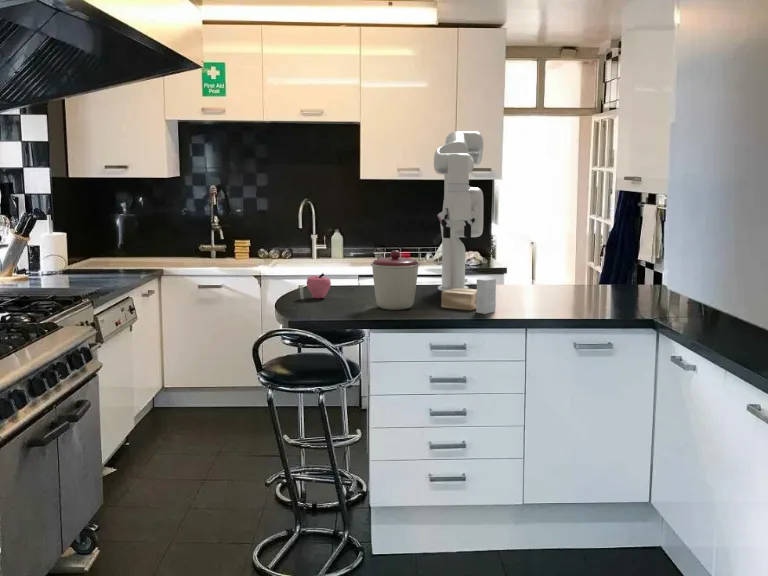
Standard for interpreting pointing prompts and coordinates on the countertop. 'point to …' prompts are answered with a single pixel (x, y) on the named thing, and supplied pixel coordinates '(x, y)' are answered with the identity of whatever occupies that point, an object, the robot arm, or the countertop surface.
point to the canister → (395, 281)
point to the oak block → (459, 298)
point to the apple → (318, 285)
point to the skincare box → (486, 295)
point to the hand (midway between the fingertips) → (457, 237)
